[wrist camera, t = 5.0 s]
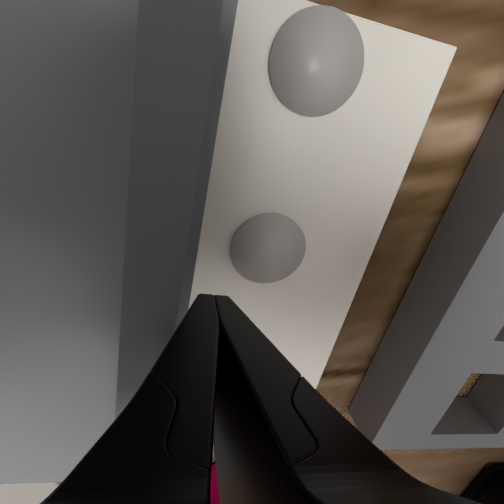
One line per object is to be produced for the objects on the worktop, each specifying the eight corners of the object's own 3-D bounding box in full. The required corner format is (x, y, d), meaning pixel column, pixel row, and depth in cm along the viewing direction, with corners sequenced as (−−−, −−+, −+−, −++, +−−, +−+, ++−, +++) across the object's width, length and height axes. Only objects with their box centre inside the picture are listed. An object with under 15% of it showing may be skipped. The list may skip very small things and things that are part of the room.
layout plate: (310, 383, 18) (315, 395, 18) (137, 378, 16) (135, 392, 16) (445, 48, 12) (461, 46, 11) (175, -35, 9) (173, -43, 9)
